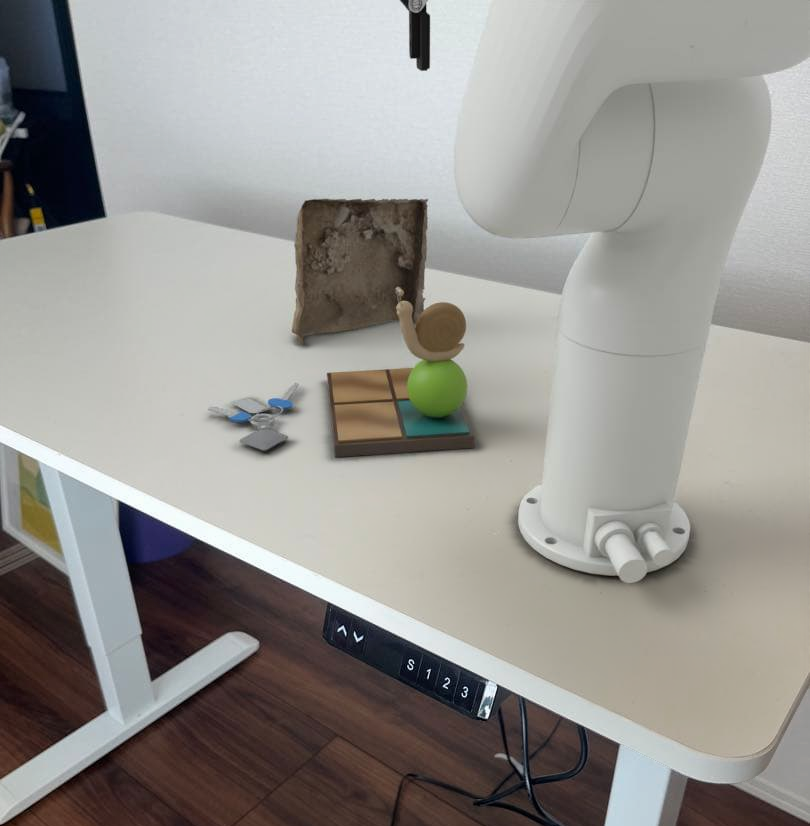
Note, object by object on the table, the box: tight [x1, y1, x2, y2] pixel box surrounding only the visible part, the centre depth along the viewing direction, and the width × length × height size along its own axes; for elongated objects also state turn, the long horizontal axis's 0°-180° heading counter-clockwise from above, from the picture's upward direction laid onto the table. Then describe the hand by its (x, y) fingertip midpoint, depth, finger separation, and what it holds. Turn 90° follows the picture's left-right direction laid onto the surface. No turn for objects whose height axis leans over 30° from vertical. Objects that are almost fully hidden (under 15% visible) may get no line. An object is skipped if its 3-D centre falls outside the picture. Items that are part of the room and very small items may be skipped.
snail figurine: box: [395, 287, 468, 418], centre depth 72 cm, size 5×6×12 cm
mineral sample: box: [291, 198, 429, 346], centre depth 93 cm, size 17×4×15 cm, turn 115°
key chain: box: [207, 382, 299, 452], centre depth 77 cm, size 14×8×1 cm, turn 1°
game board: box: [326, 367, 476, 458], centre depth 78 cm, size 16×12×1 cm
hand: (479, 67), depth 68 cm, fingers open, 9 cm apart
